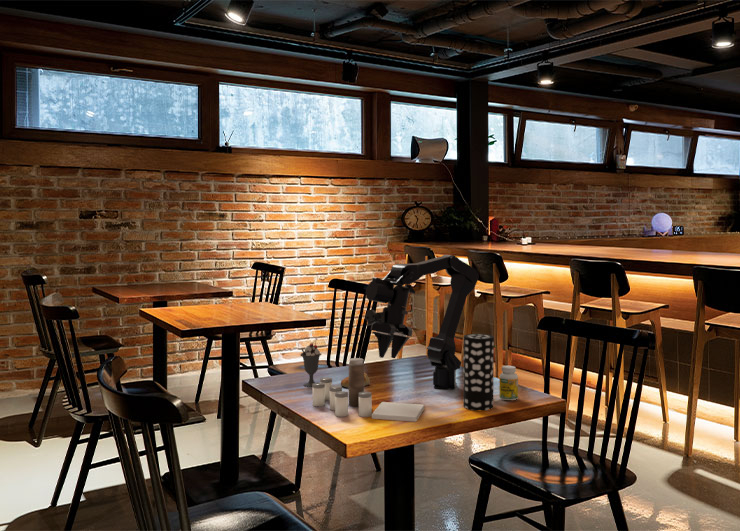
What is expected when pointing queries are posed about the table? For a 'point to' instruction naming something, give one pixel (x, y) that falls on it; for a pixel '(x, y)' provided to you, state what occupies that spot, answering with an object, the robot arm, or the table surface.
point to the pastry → (346, 381)
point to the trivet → (398, 411)
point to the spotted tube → (478, 371)
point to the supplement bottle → (508, 383)
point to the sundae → (311, 361)
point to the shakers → (339, 398)
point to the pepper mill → (355, 380)
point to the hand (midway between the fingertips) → (387, 357)
